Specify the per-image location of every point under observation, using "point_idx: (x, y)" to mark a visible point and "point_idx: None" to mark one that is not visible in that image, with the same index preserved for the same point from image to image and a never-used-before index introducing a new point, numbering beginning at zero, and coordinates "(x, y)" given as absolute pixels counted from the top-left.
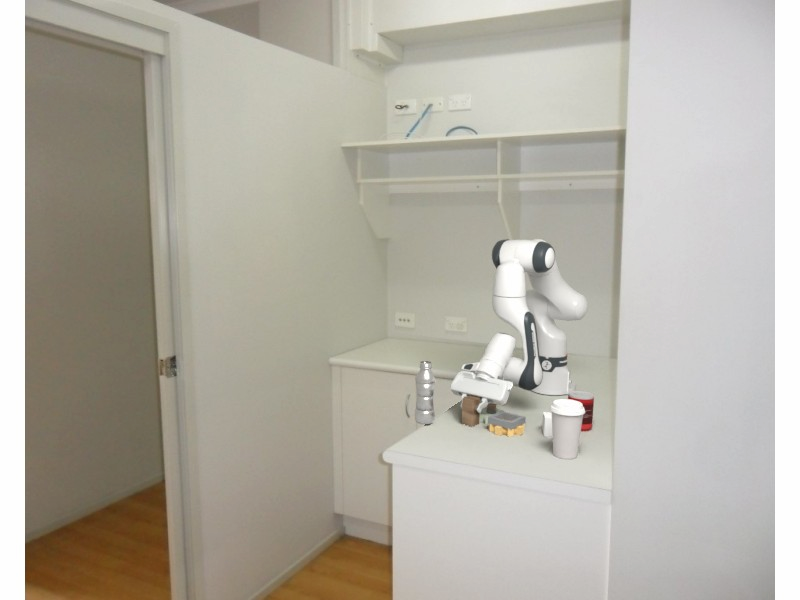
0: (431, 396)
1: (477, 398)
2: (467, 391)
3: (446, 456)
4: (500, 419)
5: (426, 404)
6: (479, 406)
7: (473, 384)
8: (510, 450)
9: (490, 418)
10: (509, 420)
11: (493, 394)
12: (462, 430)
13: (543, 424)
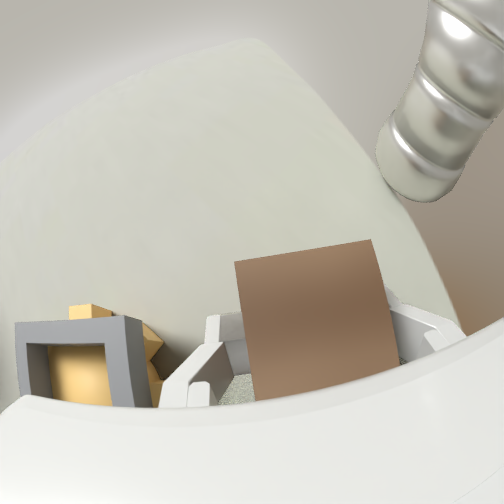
0: (429, 79)
1: (272, 380)
2: (447, 356)
3: (138, 81)
4: (61, 333)
5: (406, 89)
6: (207, 336)
7: (477, 465)
8: (25, 226)
9: (111, 318)
10: None
11: (60, 440)
12: (245, 231)
13: None
